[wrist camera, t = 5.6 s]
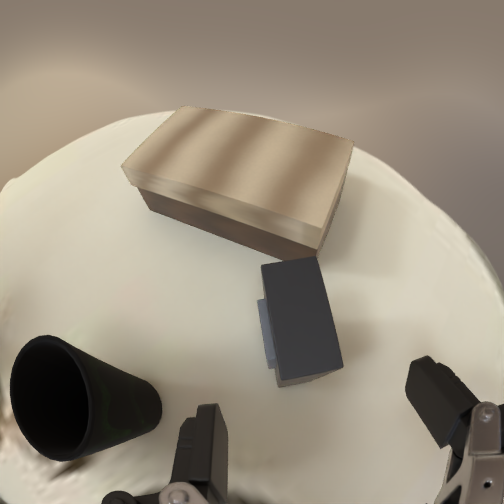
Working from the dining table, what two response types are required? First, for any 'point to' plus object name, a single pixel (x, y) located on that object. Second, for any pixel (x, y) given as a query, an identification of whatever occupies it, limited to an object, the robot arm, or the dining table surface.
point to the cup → (77, 400)
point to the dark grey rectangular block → (297, 322)
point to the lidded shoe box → (244, 178)
